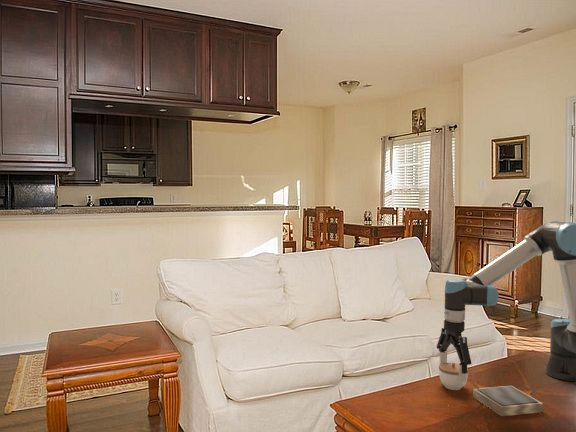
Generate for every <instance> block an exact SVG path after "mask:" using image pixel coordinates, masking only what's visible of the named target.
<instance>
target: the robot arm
mask: <svg viewBox="0 0 576 432" xmlns="http://www.w3.org/2000/svg"><path fill="white" fill-rule="evenodd" d="M547 252H548V253H549V252H552V255H553V260H554V261H555V262H557V263H558V265H559V271H560V274H561V281H562V285H563V290H564V291H563V292H564V296H565V301H566V306H567V312H568V317H569V318H555V319H552V320H551V322H550V337H549V338H550V341H549V342H550V345H549V346H550V348H549V349H550V350H549V356H548V359H547V362H546V364H545V366H544V372H545V374H546V375H548V376H550V377H552V378H555V379H558V380H562V381H568V382H576V223H575V222H566V221H565V222H562V221H550V222H546V223H544V224H541V225H540V226H539V227H537V228H535V229H534V230H533V231H531V232H529V233H528V234H526V235H524V237H523V239H522V241H520V242H519V243H518V244H516V245H515V246H513V247H512V248H510V249H508V250H507V251H506V252H504V253H503V254H501V255H500V256H498V257H497V258H495V259H494V260H492V261H491V262H490V263H489V264H487V265H486V266H484V267H482V268H481V269H479V270H478V271H477V272H475V273H473V274H472V275H471V276H469V277H468V278H467V277H466V278H460V279H456V278H453V279H452V278H450V279H447V280H445V285H444V312H443V318H444V320H443V328H441V330H440V331H441V332H440V335H439V338H438V341H437V344H436V349H437V350H438V352H439V365H440V364H442V363H448V362H447V361H448V348H449V347H450V345H452V346H453V348H454V349H455V350H456V353H457V356H458V360H459V362H460V363H458V364H459V382H464V381H466V378H467V368H468V365H472V359H471V355H470V351H469V346H468V338H467V336H462V333H463V332H464V331H465V326H466V325H465V320H466V306H485V307H488V306H489V307H490V306H496V305H497V304H498V302H499V291H498V289H497V287H496V286H494V284H495V283H497V282H498V281H500V280H502V279H503V278H505V277H506V276H507V275H510V274H511V273H513V272H514V271H515V270H516V269H518V268H519V267H521V266H522V265H524V264H525V263H527V262H529V261H530V260H532V259H533V258H535V257H536V256H537V257H538V256H539V257H541V256H542V255H543V254H546V253H547ZM467 379H468V378H467Z"/></svg>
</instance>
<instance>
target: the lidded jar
mask: <svg viewBox="0 0 576 432" xmlns="http://www.w3.org/2000/svg"><path fill="white" fill-rule="evenodd" d="M459 364H460V363H456V362H447V363H442V364H440V363H439V365H438V375H439V380H440V382H441V384H442V385H443V386H444V387H445V388H446V389H448V390H451V391H459V390H462V388H463V387H465V385H466V384H467V381H468V375H469V368H468V367H467V378H466V381H464V382H459Z"/></svg>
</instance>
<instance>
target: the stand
mask: <svg viewBox="0 0 576 432" xmlns="http://www.w3.org/2000/svg"><path fill="white" fill-rule="evenodd" d="M472 398H474V399H475V400H476V401H479V402H480V403H481V404H482V403H483V405H484V406H485V405H486V407H487V408H488V407H489V408H488V409H490V410H491V409H492V410H491V411H492V412H495V413H496V414H497V415H499V416H500V417H508V416H518V415H525V414H526V415H527V414H536V413H543V408H544V405H543V404H544V403H543V402H542V401H539V400H537V399H536V398H534V397H532V396H531V395H529V394H527V393H525V392H524V391H522V390H520V389H518V388H516V387H515V386H513V385H503V386H492V387H491V386H490V387H489V386H488V387H481V388H473V389H472Z"/></svg>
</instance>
